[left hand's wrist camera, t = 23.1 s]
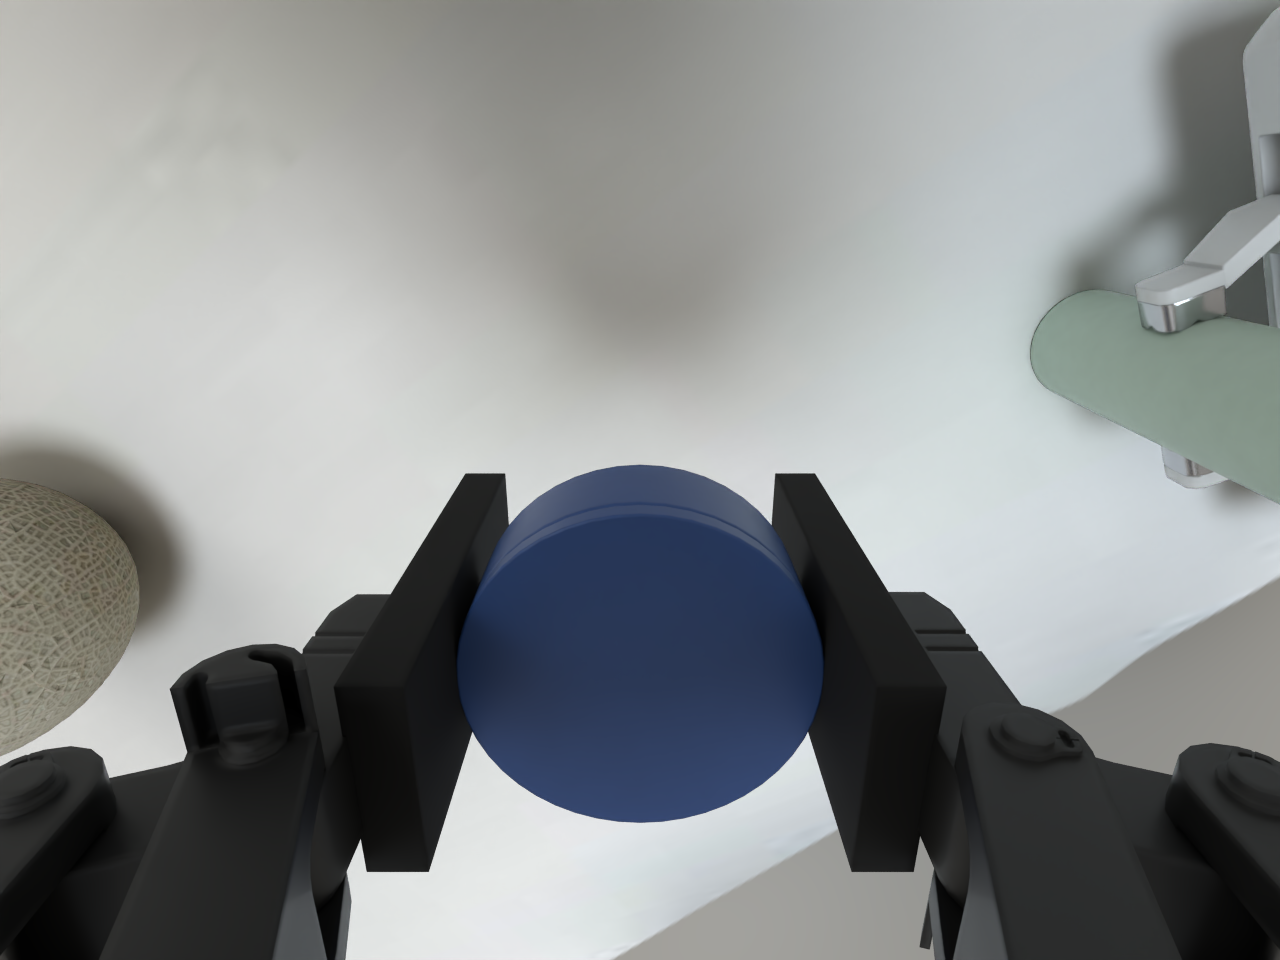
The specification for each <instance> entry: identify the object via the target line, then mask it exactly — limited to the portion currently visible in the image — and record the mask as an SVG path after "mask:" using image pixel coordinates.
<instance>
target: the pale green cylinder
mask: <svg viewBox="0 0 1280 960" xmlns="http://www.w3.org/2000/svg"><path fill="white" fill-rule="evenodd" d="M1031 363H1032V367H1033V370H1034V373H1035V375H1036V377H1037V378H1038V380H1039V381H1040V382H1041V383H1042V384H1043V385H1044V386H1045V387H1046V388H1047V389H1049V390H1050V391H1052V392H1054V393H1056V394H1058V395H1060V396H1062V397H1064V398H1066V399H1068V400H1070V401H1072V402H1074V403H1076V404H1078V405H1080V406H1082V407H1084V408H1086V409H1088V410H1090V411H1092V412H1094V413H1096V414H1098V415H1100V416H1102V417H1104V418H1106V419H1108V420H1110V421H1112V422H1115V423H1117V424H1119V425H1121V426H1123V427H1125V428H1127V429H1129V430H1131V431H1133V432H1135V433H1137V434H1139V435H1141V436H1143V437H1145V438H1147V439H1149V440H1151V441H1153V442H1155V443H1157V444H1159V445H1161V446H1163V447H1165V448H1167V449H1169V450H1171V451H1173V452H1175V453H1177V454H1179V455H1181V456H1183V457H1185V458H1187V459H1189V460H1191V461H1193V462H1195V463H1197V464H1199V465H1201V466H1203V467H1205V468H1207V469H1209V470H1211V471H1213V472H1215V473H1217V474H1219V475H1221V476H1223V477H1225V478H1228V479H1230V480H1232V481H1234V482H1236V483H1238V484H1240V485H1242V486H1244V487H1246V488H1248V489H1250V490H1252V491H1254V492H1256V493H1258V494H1260V495H1262V496H1264V497H1266V498H1268V499H1270V500H1272V501H1274V502H1276V503H1278V504H1280V328H1276V327H1272V326H1267V325H1263V324H1258V323H1254V322H1249V321H1245V320H1240V319H1235V318H1231V317H1226V316H1220V317H1217V318H1215V319H1212V320H1209V321H1205V322H1204V321H1200V320H1197V321H1196V322H1195V323H1194V325H1193V326H1191V327H1189V328H1187V329H1185V330H1182V331H1178V332H1173V333H1160V332H1157V331H1156V330H1155V329H1154V328H1153V327H1152V328H1149V329H1146V328H1143V327H1142V326H1141V320H1140V314H1139V308H1138V302H1137V297H1136V296H1131V295H1127V294H1122V293H1117V292H1113V291H1108V290H1101V289H1100V290H1087V291H1083V292H1079V293H1076V294H1074V295H1072V296H1070V297H1068V298H1066V299H1064V300H1063V301H1061V302H1060V303H1058V304H1057V305H1056V306H1055V307H1053V308H1052V309H1051V310H1050V311H1049V312H1048V313H1047V315H1046V316H1045V317H1044V318H1043V320H1042V321H1041V323H1040V324H1039V326H1038V328H1037V330H1036V332H1035V335H1034V338H1033V341H1032V346H1031Z"/></svg>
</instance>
